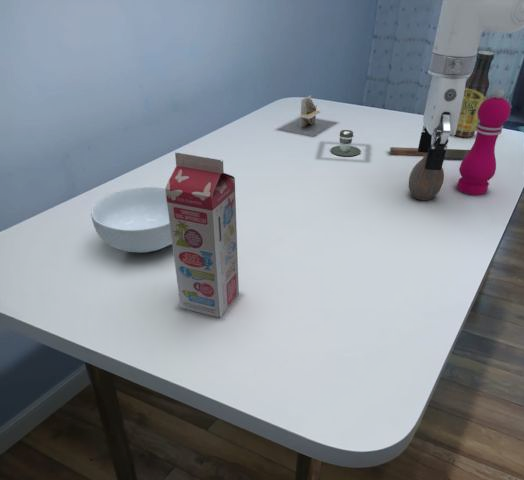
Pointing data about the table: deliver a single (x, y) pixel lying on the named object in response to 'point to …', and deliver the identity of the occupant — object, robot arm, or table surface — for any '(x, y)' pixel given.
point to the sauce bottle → (474, 94)
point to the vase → (425, 181)
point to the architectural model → (307, 120)
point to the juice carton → (203, 234)
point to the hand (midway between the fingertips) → (428, 160)
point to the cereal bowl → (133, 219)
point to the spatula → (449, 155)
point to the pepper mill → (484, 146)
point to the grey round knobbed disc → (345, 145)
